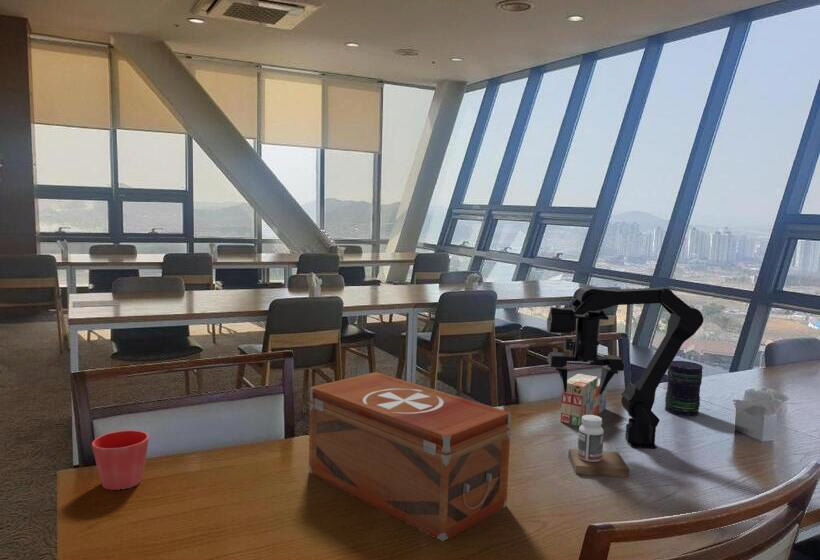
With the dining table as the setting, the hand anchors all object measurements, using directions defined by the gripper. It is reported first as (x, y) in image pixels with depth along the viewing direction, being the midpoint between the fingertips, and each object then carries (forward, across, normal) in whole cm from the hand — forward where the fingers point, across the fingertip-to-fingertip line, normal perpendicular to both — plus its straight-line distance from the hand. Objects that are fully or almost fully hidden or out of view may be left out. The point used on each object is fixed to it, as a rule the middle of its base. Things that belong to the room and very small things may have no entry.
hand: (582, 393), depth 163 cm
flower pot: (+15, +105, +37) cm, 112 cm away
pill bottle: (+11, +1, +16) cm, 20 cm away
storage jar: (+13, -38, -29) cm, 50 cm away
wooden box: (+14, +45, +33) cm, 58 cm away
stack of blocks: (+14, -6, -21) cm, 26 cm away
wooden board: (+13, -1, +17) cm, 21 cm away
